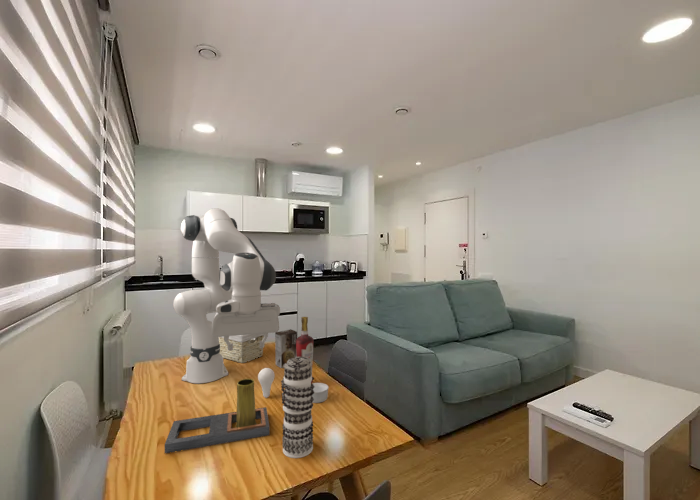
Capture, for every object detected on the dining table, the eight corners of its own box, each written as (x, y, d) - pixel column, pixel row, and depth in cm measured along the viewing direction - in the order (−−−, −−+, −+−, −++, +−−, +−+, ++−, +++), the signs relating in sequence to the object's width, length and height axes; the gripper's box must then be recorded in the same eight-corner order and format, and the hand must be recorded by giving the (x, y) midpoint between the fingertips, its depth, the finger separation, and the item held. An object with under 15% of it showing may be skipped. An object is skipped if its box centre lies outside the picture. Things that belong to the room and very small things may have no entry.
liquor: (305, 379, 140) (305, 314, 140) (317, 384, 135) (317, 317, 136) (292, 385, 135) (292, 317, 135) (303, 389, 130) (303, 319, 130)
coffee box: (291, 360, 165) (291, 329, 165) (297, 364, 160) (297, 331, 160) (274, 364, 159) (274, 331, 159) (281, 368, 154) (281, 334, 154)
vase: (239, 434, 98) (239, 387, 98) (233, 425, 103) (232, 381, 103) (259, 427, 102) (258, 382, 102) (252, 419, 107) (251, 376, 107)
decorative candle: (283, 439, 95) (283, 354, 95) (315, 438, 96) (314, 353, 96) (278, 459, 86) (278, 365, 86) (313, 458, 87) (313, 364, 87)
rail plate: (173, 429, 101) (173, 420, 101) (266, 414, 110) (266, 406, 110) (164, 453, 89) (164, 443, 89) (269, 435, 98) (269, 425, 98)
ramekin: (300, 398, 123) (300, 386, 123) (319, 391, 129) (319, 380, 129) (313, 406, 116) (313, 394, 116) (333, 399, 122) (333, 387, 122)
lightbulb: (270, 401, 120) (270, 371, 120) (255, 400, 121) (255, 370, 121) (277, 394, 126) (277, 366, 126) (262, 393, 127) (262, 365, 127)
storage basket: (266, 356, 173) (266, 328, 173) (241, 365, 159) (241, 335, 159) (236, 349, 185) (236, 323, 185) (211, 357, 171) (211, 329, 171)
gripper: (278, 301, 108) (278, 342, 108) (212, 304, 102) (212, 348, 102) (281, 304, 103) (281, 348, 102) (210, 307, 96) (210, 354, 96)
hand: (246, 348), depth 102 cm, fingers open, 8 cm apart
